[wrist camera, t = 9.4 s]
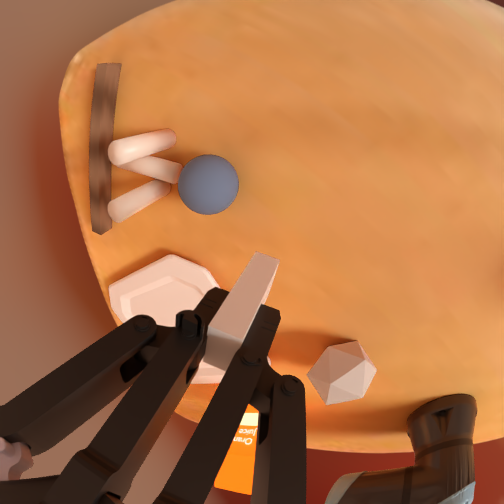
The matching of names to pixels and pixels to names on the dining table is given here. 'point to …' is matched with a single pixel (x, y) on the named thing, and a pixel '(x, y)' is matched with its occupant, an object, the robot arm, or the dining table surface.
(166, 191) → the pin
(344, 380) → the die
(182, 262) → the plate
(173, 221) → the dining table surface
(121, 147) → the pin
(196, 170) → the ball
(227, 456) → the orange juice
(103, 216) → the board
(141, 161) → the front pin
